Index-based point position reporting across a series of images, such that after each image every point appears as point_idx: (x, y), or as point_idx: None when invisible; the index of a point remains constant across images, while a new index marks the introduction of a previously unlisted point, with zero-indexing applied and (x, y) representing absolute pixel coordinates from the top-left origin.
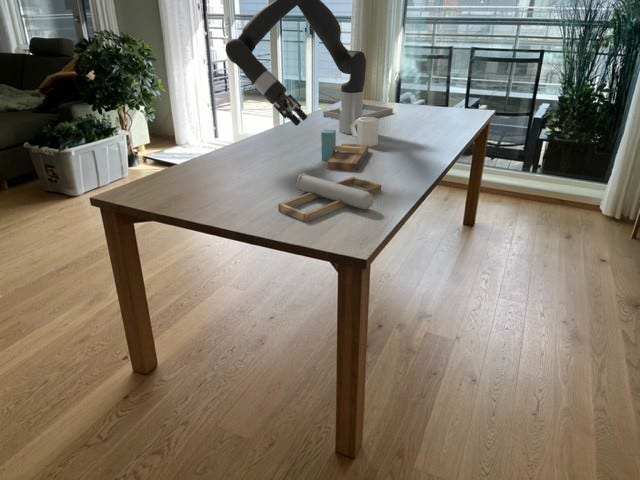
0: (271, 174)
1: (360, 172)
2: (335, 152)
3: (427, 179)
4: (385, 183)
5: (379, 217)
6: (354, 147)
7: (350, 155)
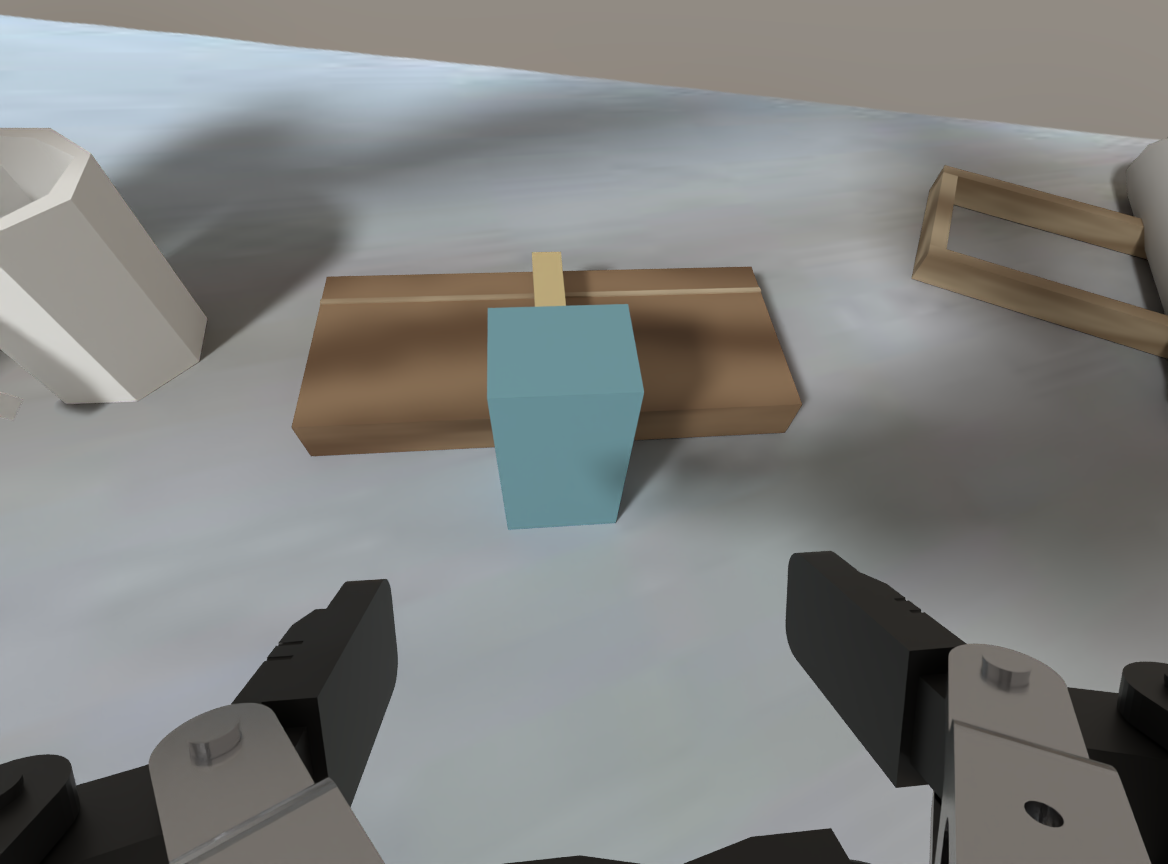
0: None
1: None
2: None
3: (713, 102)
4: (836, 189)
5: None
6: (551, 277)
7: None
